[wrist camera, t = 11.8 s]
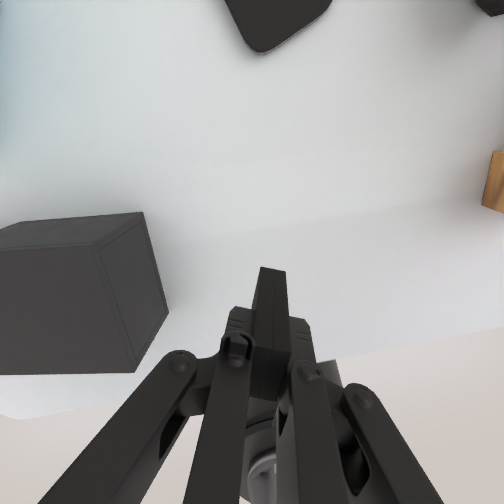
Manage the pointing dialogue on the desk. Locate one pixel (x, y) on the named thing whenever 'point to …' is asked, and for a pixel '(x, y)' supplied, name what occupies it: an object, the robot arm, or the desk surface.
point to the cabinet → (78, 295)
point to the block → (495, 183)
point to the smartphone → (273, 20)
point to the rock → (491, 6)
